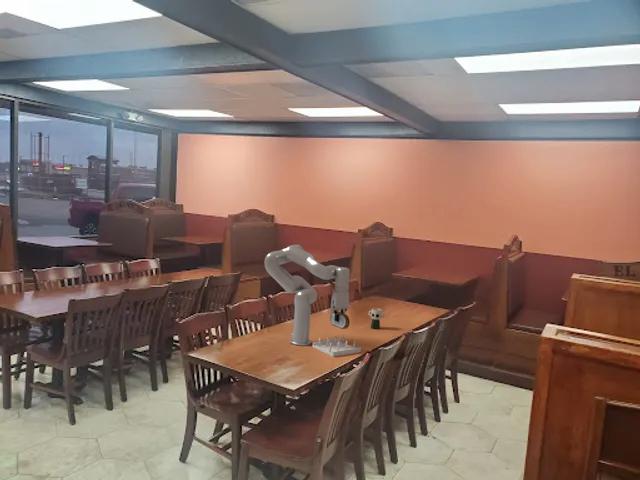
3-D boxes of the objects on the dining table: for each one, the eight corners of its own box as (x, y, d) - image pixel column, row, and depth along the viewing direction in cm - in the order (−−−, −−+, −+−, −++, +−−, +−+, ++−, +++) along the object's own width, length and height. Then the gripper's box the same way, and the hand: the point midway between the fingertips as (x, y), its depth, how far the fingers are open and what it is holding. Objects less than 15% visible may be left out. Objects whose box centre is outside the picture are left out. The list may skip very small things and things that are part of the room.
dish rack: (312, 346, 298) (313, 336, 297) (339, 342, 310) (340, 332, 310) (332, 356, 283) (333, 345, 282) (360, 352, 295) (361, 341, 295)
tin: (348, 330, 289) (351, 315, 289) (344, 330, 287) (346, 315, 287) (332, 324, 301) (334, 309, 301) (328, 324, 299) (330, 309, 299)
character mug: (365, 327, 349) (367, 309, 348) (369, 325, 356) (370, 307, 354) (381, 330, 345) (383, 311, 344) (384, 328, 352) (386, 309, 350)
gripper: (348, 287, 301) (345, 317, 303) (326, 288, 291) (323, 320, 293) (356, 289, 295) (353, 321, 297) (334, 291, 285) (331, 323, 287)
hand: (338, 320), depth 295 cm, fingers closed on tin, 2 cm apart
